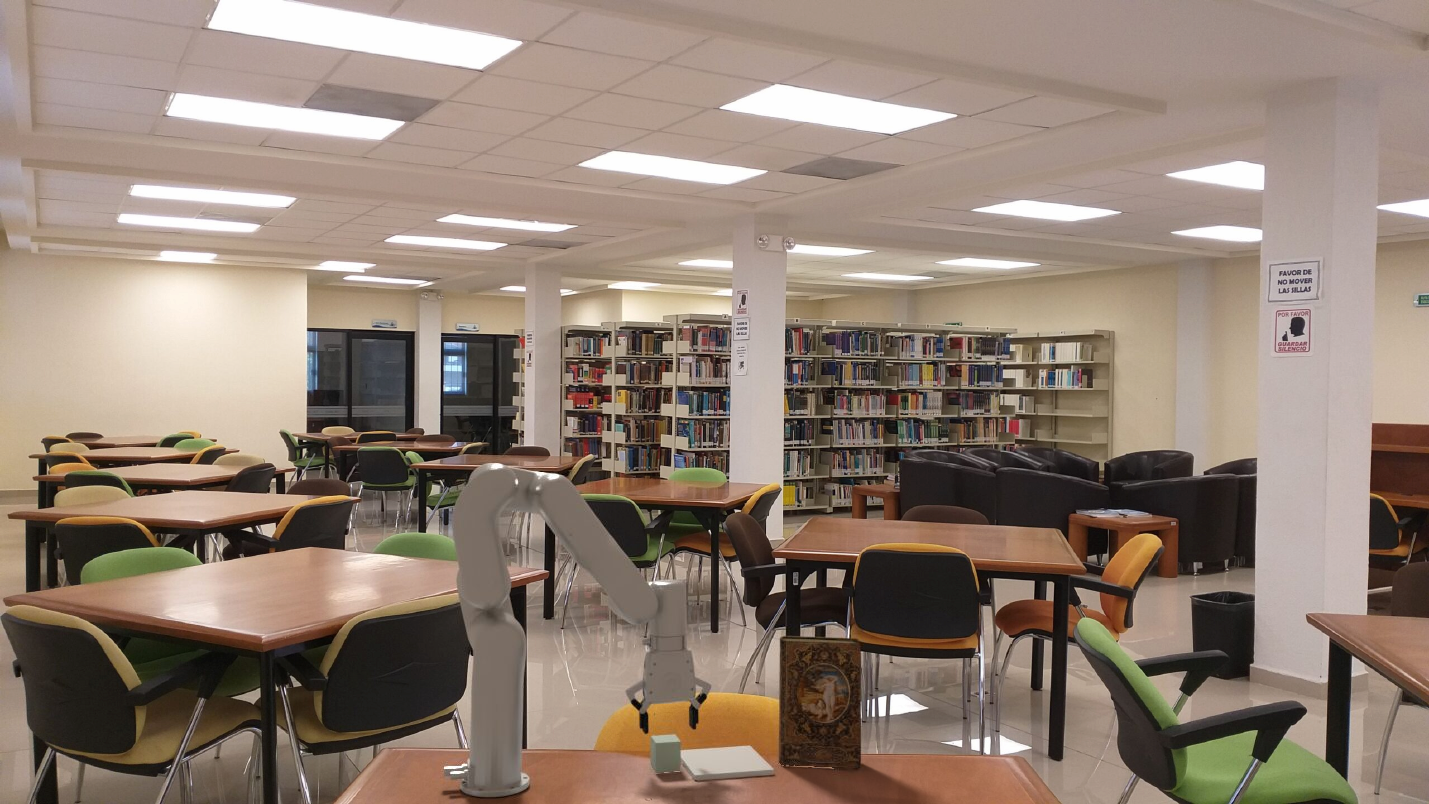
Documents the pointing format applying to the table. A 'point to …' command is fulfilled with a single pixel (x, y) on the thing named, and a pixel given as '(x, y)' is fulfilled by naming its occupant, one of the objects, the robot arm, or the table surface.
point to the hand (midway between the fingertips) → (669, 729)
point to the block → (665, 753)
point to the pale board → (724, 763)
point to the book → (820, 702)
